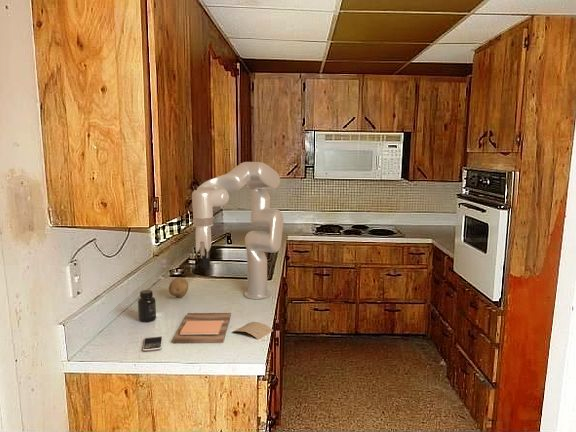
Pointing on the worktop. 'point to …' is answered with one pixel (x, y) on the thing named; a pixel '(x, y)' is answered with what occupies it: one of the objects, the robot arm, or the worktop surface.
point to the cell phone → (152, 344)
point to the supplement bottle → (146, 306)
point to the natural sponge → (178, 287)
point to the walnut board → (204, 337)
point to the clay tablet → (256, 329)
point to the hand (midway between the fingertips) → (205, 267)
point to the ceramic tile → (202, 327)
